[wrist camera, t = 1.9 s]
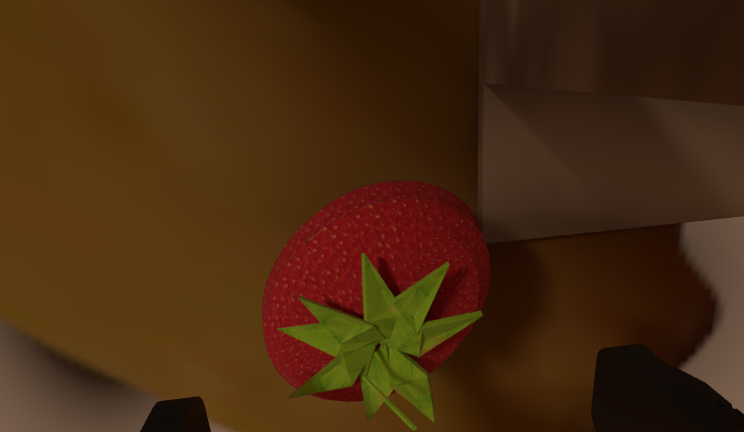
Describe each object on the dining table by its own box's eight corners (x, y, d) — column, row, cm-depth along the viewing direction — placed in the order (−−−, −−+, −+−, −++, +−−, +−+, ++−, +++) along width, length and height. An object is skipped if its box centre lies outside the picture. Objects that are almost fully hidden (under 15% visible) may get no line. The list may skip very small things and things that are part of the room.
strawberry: (472, 214, 18) (624, 365, 9) (347, 327, 20) (366, 565, 10) (376, 113, 17) (441, 169, 7) (245, 244, 18) (155, 438, 8)
